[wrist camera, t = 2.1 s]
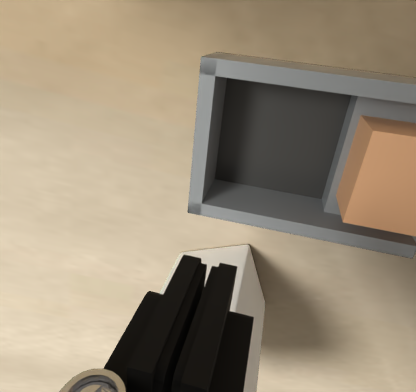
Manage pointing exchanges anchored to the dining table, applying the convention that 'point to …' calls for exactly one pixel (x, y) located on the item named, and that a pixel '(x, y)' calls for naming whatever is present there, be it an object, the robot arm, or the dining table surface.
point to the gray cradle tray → (288, 144)
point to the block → (380, 176)
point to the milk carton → (238, 296)
